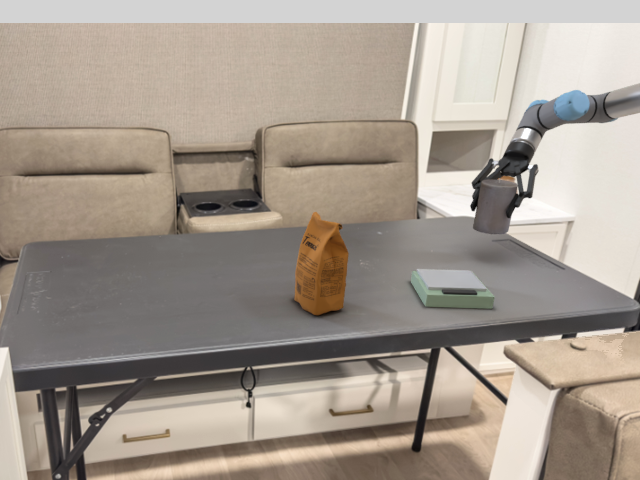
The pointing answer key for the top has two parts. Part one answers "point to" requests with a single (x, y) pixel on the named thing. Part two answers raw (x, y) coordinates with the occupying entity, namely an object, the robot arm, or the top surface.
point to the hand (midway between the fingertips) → (489, 211)
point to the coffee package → (321, 267)
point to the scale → (451, 289)
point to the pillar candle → (494, 206)
